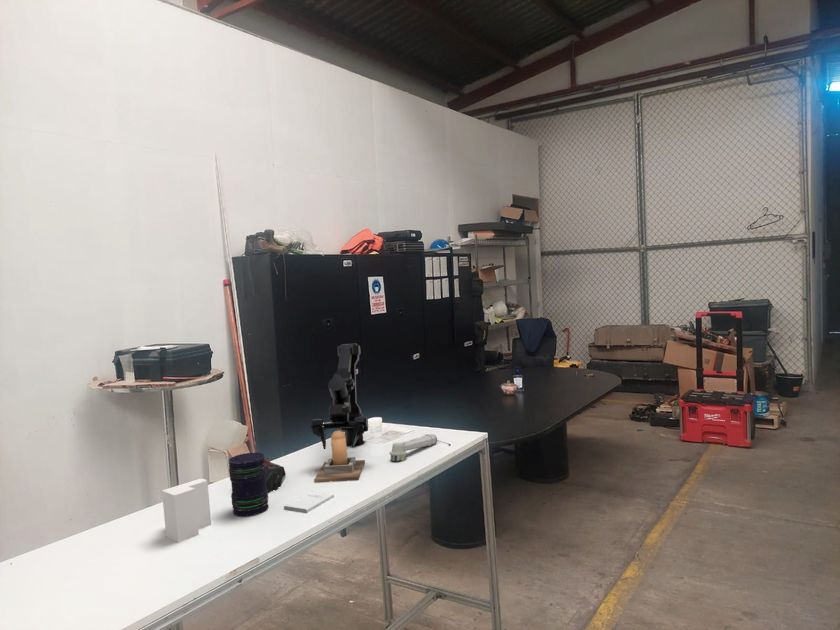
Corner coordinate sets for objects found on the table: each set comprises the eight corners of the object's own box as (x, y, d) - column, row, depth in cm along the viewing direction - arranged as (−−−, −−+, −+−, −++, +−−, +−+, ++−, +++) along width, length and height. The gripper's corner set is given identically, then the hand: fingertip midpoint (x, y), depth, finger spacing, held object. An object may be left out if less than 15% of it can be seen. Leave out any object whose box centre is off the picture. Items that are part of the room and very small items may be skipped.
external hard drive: (284, 511, 163) (312, 495, 174) (307, 515, 159) (334, 499, 170) (283, 505, 163) (311, 490, 174) (306, 509, 159) (334, 493, 170)
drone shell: (256, 499, 173) (254, 473, 173) (215, 490, 184) (213, 465, 184) (307, 477, 190) (306, 453, 190) (267, 470, 201) (265, 447, 201)
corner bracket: (178, 542, 145) (174, 495, 145) (157, 532, 153) (153, 487, 152) (217, 527, 153) (214, 482, 153) (196, 518, 161) (192, 475, 160)
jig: (324, 465, 202) (324, 455, 202) (364, 462, 202) (364, 452, 202) (314, 482, 184) (313, 472, 184) (358, 479, 184) (357, 469, 184)
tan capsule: (331, 468, 194) (328, 430, 193) (345, 466, 196) (342, 427, 195) (335, 472, 190) (333, 432, 189) (349, 469, 192) (347, 430, 191)
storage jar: (272, 502, 169) (267, 451, 169) (265, 515, 160) (261, 461, 159) (237, 505, 169) (232, 454, 168) (228, 518, 159) (223, 464, 158)
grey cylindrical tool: (438, 434, 219) (398, 442, 199) (438, 452, 219) (398, 461, 198) (427, 433, 222) (386, 440, 202) (427, 450, 222) (386, 460, 201)
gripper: (309, 396, 196) (304, 437, 185) (364, 392, 195) (363, 433, 185) (315, 414, 204) (311, 454, 194) (368, 410, 204) (367, 450, 193)
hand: (338, 447), depth 191 cm, fingers open, 9 cm apart
